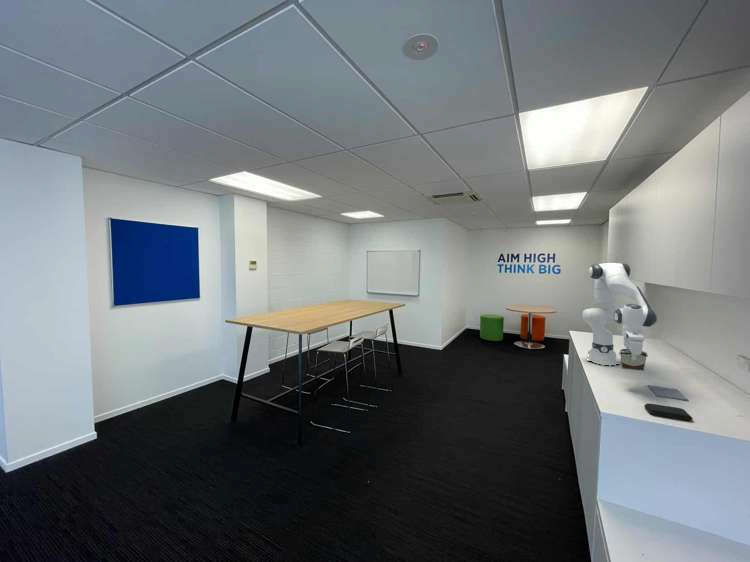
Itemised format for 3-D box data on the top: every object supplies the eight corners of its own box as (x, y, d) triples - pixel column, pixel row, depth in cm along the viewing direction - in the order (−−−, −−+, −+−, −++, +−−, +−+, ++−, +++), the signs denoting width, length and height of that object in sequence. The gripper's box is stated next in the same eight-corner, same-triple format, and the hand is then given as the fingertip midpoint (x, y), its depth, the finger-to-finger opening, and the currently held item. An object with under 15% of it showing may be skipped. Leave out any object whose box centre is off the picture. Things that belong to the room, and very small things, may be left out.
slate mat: (647, 386, 167) (647, 384, 167) (676, 390, 161) (676, 388, 161) (656, 396, 154) (656, 395, 154) (688, 401, 148) (688, 399, 148)
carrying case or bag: (683, 413, 138) (642, 406, 145) (683, 406, 137) (642, 400, 144) (694, 423, 128) (649, 416, 135) (694, 416, 128) (649, 409, 135)
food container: (642, 366, 165) (643, 349, 164) (647, 371, 160) (648, 353, 158) (615, 364, 170) (615, 347, 169) (618, 368, 165) (619, 351, 164)
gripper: (620, 329, 174) (620, 352, 174) (629, 337, 156) (629, 362, 157) (634, 330, 170) (633, 353, 171) (645, 338, 153) (644, 364, 153)
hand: (631, 358), depth 164 cm, fingers closed on food container, 5 cm apart
